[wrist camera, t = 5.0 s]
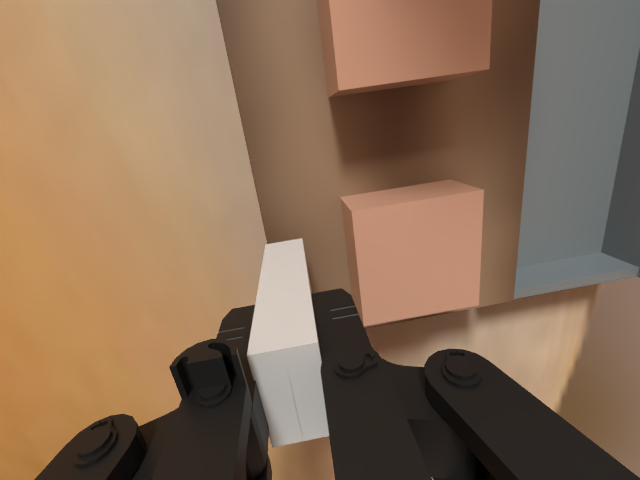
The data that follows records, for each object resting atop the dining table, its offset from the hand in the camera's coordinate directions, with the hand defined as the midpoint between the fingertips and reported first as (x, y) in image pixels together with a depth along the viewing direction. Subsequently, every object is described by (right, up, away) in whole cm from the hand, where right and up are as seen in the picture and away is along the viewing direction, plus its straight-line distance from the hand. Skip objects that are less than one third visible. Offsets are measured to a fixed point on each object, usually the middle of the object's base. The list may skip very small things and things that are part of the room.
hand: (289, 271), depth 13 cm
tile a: (+5, +1, +2) cm, 5 cm away
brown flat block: (+4, +7, +4) cm, 9 cm away
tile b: (+4, +10, -1) cm, 10 cm away
